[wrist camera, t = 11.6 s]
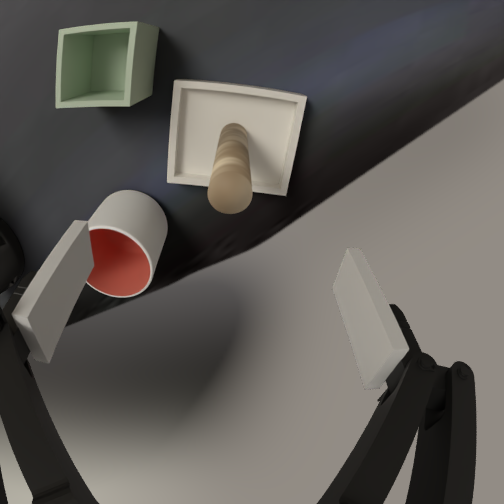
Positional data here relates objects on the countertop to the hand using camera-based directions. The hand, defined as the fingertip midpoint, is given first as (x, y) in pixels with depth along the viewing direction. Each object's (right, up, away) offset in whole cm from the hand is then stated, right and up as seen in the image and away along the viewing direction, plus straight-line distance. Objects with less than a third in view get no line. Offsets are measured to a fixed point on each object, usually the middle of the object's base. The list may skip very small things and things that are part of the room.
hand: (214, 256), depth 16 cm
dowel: (0, +13, +19) cm, 23 cm away
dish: (0, +14, +20) cm, 24 cm away
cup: (-14, +5, +26) cm, 30 cm away
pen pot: (-13, +22, +14) cm, 29 cm away
